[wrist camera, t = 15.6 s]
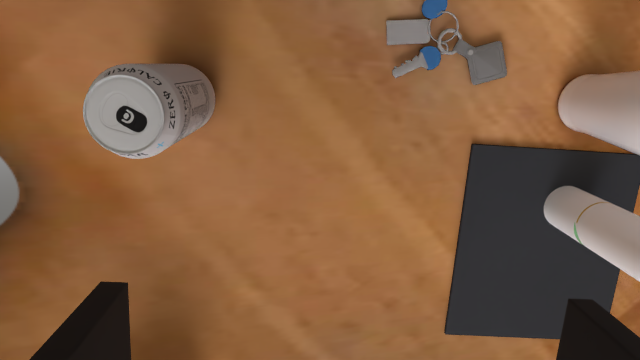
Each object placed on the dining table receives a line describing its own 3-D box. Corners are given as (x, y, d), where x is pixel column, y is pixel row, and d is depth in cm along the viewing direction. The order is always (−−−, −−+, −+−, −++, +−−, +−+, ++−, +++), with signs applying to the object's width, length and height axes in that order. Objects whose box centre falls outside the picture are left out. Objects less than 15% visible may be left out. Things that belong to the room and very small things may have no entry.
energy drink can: (168, 50, 42) (98, 44, 28) (228, 85, 43) (191, 97, 29) (138, 109, 43) (56, 133, 29) (198, 142, 44) (147, 181, 30)
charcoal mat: (471, 143, 45) (473, 144, 45) (643, 154, 46) (646, 155, 46) (444, 332, 50) (445, 334, 50) (601, 339, 51) (603, 341, 50)
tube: (551, 182, 46) (666, 236, 31) (592, 190, 46) (725, 248, 32) (537, 223, 47) (643, 295, 32) (578, 231, 47) (701, 305, 33)
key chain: (518, 58, 43) (522, 58, 43) (458, 130, 45) (461, 131, 44) (401, -44, 41) (403, -46, 40) (342, 35, 42) (342, 34, 42)
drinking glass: (543, 138, 45) (656, 173, 31) (552, 65, 44) (676, 66, 29) (612, 139, 46) (757, 174, 31) (624, 66, 44) (783, 67, 29)
